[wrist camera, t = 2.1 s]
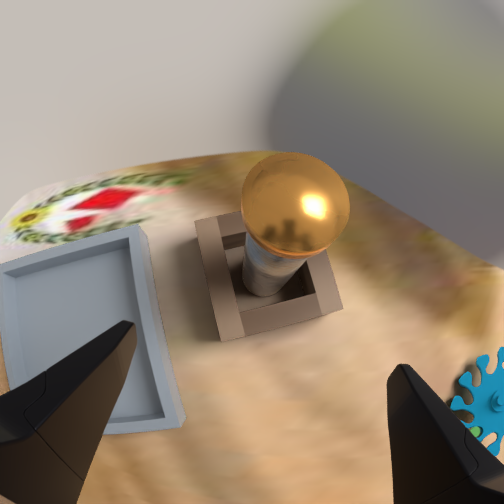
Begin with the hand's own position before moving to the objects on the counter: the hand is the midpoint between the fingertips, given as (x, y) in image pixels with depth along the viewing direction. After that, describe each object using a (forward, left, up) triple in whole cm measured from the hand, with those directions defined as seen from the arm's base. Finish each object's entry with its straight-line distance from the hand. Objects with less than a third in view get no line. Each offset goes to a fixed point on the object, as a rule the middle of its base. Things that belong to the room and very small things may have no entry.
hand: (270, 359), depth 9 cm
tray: (+3, +13, -12) cm, 18 cm away
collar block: (+5, -2, -12) cm, 13 cm away
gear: (-12, -18, -12) cm, 25 cm away
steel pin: (+5, -2, -12) cm, 13 cm away
